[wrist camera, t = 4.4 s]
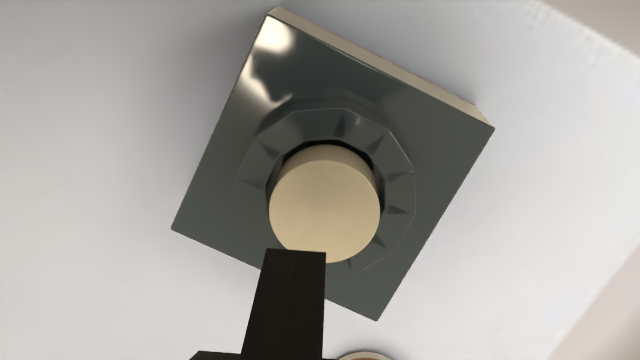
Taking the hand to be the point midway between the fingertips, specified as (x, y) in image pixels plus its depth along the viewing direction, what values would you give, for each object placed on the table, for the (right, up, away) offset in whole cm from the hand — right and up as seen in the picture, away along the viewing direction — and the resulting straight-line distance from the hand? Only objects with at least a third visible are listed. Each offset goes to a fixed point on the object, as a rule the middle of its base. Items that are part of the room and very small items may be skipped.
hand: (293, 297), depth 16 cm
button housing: (+1, +4, +13) cm, 14 cm away
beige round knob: (+1, +2, +8) cm, 9 cm away
